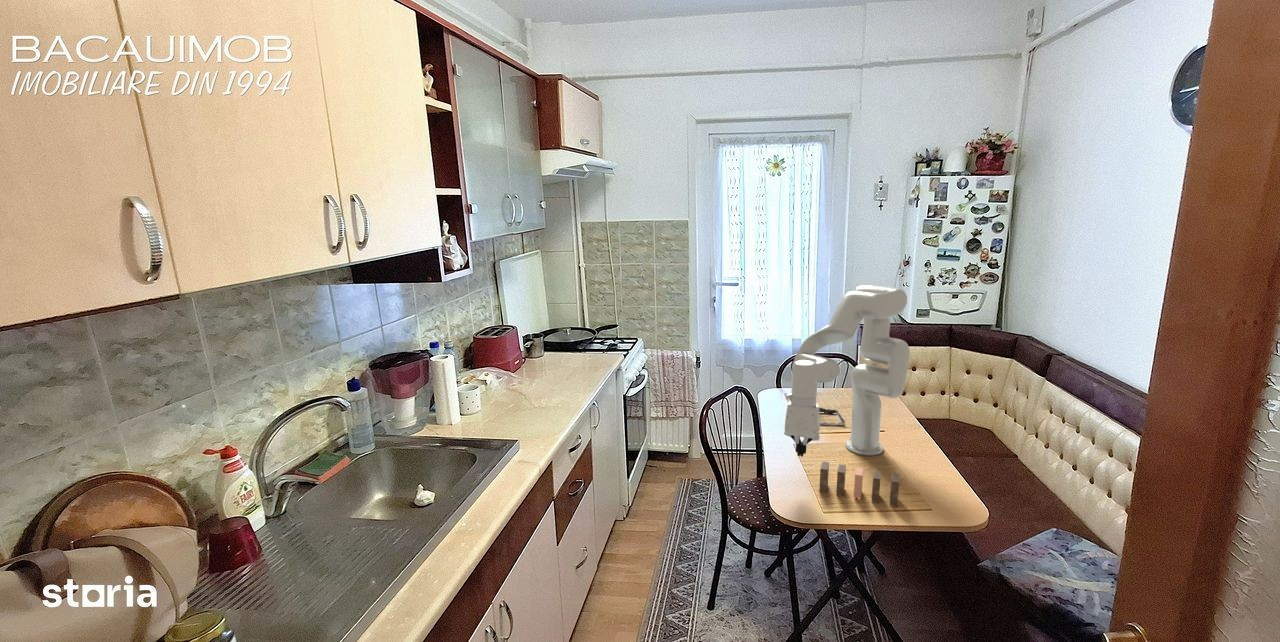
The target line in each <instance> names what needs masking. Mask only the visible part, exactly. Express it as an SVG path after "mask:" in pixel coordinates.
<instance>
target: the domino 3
mask: <svg viewBox="0 0 1280 642" xmlns="http://www.w3.org/2000/svg"><path fill="white" fill-rule="evenodd" d="M863 477H864V468H862V467H858V466H856V467H855V474H854V489H853V498H854V497H855V498H860V499H861V500H862V493H863V480H864V479H863Z"/></svg>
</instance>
